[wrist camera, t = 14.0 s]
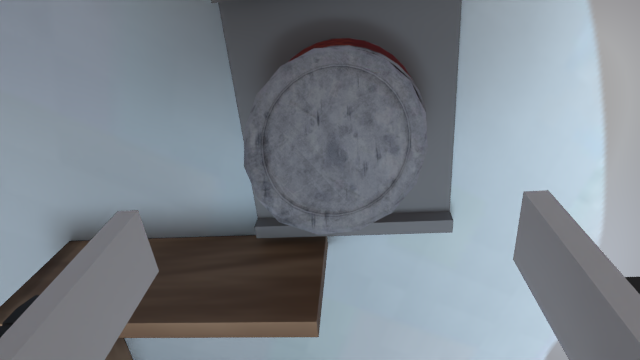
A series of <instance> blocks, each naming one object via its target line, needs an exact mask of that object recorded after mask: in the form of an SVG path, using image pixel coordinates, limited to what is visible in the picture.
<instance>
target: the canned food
mask: <svg viewBox="0 0 640 360" xmlns="http://www.w3.org/2000/svg"><path fill="white" fill-rule="evenodd" d="M427 151H428V141H427V117H426V110H425V105H424V102H423V100H422V97H421V94H420V92H419V90H418V88H417V86H416V85H415V83H414V81H413V78H412V77H411V75H410V74H409V72H408V71H407V69H406V68H405V66H404V65H403V64H402V63H401V62H400V61H399V60H398V59H397V58H396V57H395V56H394V55H393V54H392V53H390V52H389V51H387V50H385V49H384V48H382V47H381V46H379V45H376V44H374V43H371V42H369V41H366V40H361V39H355V38H349V37H347V38H331V39H327V40H323V41H319V42H316V43H314V44H312V45H310V46H308V47H306V48H304V49H302V50H301V51H300V52H298V53H297V54H296V55H294V56H293V57H292V58H290V60H289V61H288V62H287V63H286V64H284V65H282V66H280V67H279V68H278V70H277V71H276V72H275V73H274V75H273V76H272V77H271V78H270V80H269V81H268V82H267V83H266V84H265V85H264V87H263V88H262V89H261V90H260V91H259V92H258V93H257V94H256V97H255V100H254V103H253V106H252V109H251V112H250V115H249V118H248V120H247V123H246V126H245V128H244V167H245V170H246V172H247V174H248V176H249V179H250V181H251V183H252V186H253V189H254V191H255V194H256V197H257V199H258V200H259V201H260V202H261V204H262V205H263V206H264V207H265V208H266V209H267V210H268V211H269V212H270V213H271V214H272V215H273V216H274V217H275V218H276V219H277V220H278V222H280V223H283V224H286V225H289V226H292V227H295V228H299V229H302V230H305V231H308V232H311V233H314V234H317V235H321V234H332V233H343V232H353V231H359V230H361V229H363V228H365V227H366V226H368V225H370V224H372V223H374V222H375V221H377V220H379V219H381V218H383V217H385V216H387V215H389V214H391V213H393V211H394V210H395V209H396V208H397V206H398V205H399V204H400V203H401V201H402V200H403V199H404V198H405V196H406V195H407V194H408V193H409V192H410V191H411V190H412V188H413V187H414V186H415V185H416V184H417V180H418V177H419V174H420V171H421V167H422V165H423V162H424V159H425V156H426V154H427Z"/></svg>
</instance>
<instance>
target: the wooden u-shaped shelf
mask: <svg viewBox="0 0 640 360" xmlns="http://www.w3.org/2000/svg"><path fill="white" fill-rule="evenodd" d="M148 240H149V243H150V246H151V249H152V252H153V255H154V258H155V261H156V264H157V267H158V270H159V272H158V274H157V275H156V277H155V279H154V280H153V282H152V283H151V285H150V287H149V288H148V290H147V292H146V293H145V295H144V296H143V298H142V300H141V301H140V303H139V305H138V306H137V308H136V310H135V311H134V313H133V314H132V316H131V318H130V319H129V321H128V323H127V324H126V326H125V328H124V329H123V331H122V332H121V334H120V336H119V337H118V339H117V341H116V342H115V344H114V346H113V347H112V349H111V350H110V352H109V354H108V355H107V357H106V359H105V360H133V359H132V357H131V354H130V352H129V350H128V347H127V345H126V342H125V340H124V338H208V337H319V327H320V317H321V307H322V298H323V288H324V278H325V268H326V259H327V249H328V243H327V236H317V237H284V238H256V235H248V236H216V237H185V238H153V239H148ZM89 242H90V241H69V242H68V243H67V244H66V245H65V246H64V247H63V248H62V249H61V250H60V251H59V252H58V253H57V254H56V255H54V256H53V257H52V258H51V259H50V260H49V261H48V262H47V263H46V264H45V265H44V266H43V267H42V268H41V269H40V270H39V271H38V272H37V273H35V274H34V275H33V276H32V277H31V278H30V279H29V280H28V281H27V282H26V283H25V284H24V285H23V286H22V287H21V288H20V289H19V290H17V291H16V292H15V293H14V294H13V295H12V296H11V297H10V298H9V299H8V300H7V301H6V302H5V303H4V304H3V305H2V306H1V307H0V326H2V323H3V322H4V321H5V320H6V319H7V318H8V317H9V316H10V315H11V313H12V312H13V311H14V310H15V309H16V308H18V307H19V306H20V305H22V304H23V303H25V302H26V301H28V300H29V299H31V298H32V297H33V296H35V295H40V294H41V293H42V292H43V291H44V290H45V289H46V288H47V287H48V286H49V285H50V284H51V283H52V281H53V280H54V279H55V278H56V277H57V276H58V275H59V274H60V273H61V272H62V271H63V270H64V269H65V267H66V266H67V265H68V264H69V263H70V262H71V261H72V260H73V259H74V258H75V257H76V256H77V254H78V253H79V252H80V251H81V250H82V249H83V248H84V247H85V246H86V245H87V244H88V243H89Z"/></svg>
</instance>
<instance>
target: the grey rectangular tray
mask: <svg viewBox="0 0 640 360" xmlns="http://www.w3.org/2000/svg"><path fill="white" fill-rule="evenodd" d="M211 1H212V3H217V2H218V3H219V9H220V14H221V20H222V25H223V31H224V36H225V42H226V47H227V52H228V58H229V63H230V69H231V74H232V80H233V85H234V91H235V96H236V101H237V107H238V112H239V118H240V123H241V129H242V134H243V140H244V128H245V126H246V123H247V120H248V118H249V115H250V112H251V109H252V106H253V103H254V100H255V97H256V94H257V93H258V92H259V91H260V90H261V89H262V88H263V87H264V85H265V84H266V83H267V82H268V81H269V80H270V78H271V77H272V76H273V75H274V73H275V72H276V71H277V70H278V68H279V67H280V66H282V65H284V64H286V63H287V62H288V61H289V60H290V58H292V57H293V56H294V55H296V54H297V53H298V52H300V51H301V50H302V49H304V48H306V47H308V46H310V45H312V44H314V43H316V42H319V41H323V40H327V39H331V38H347V37H349V38H355V39H361V40H366V41H369V42H371V43H374V44H376V45H379V46H381V47H382V48H384V49H385V50H387V51H389V52H390V53H392V54H393V55H394V56H395V57H396V58H397V59H398V60H399V61H400V62H401V63H402V64H403V65H404V66H405V68H406V69H407V71H408V72H409V74H410V75H411V77H412V78H413V81H414V83H415V85H416V86H417V88H418V90H419V92H420V94H421V97H422V100H423V102H424V105H425V110H426V117H427V141H428V151H427V154H426V156H425V159H424V162H423V165H422V167H421V171H420V174H419V177H418V180H417V184H416V185H415V186H414V187H413V188H412V190H411V191H410V192H409V193H408V194H407V195H406V196H405V198H404V199H403V200H402V201H401V203H400V204H399V205H398V206H397V208H396V209H395V210H394V211H393V213H391V214H389V215H387V216H385V217H383V218H381V219H379V220H377V221H375V222H374V223H372V224H370V225H368V226H366V227H365V228H363V229H361V230H359V231H353V232H343V233H332V234H321V235H317V234H314V233H311V232H308V231H305V230H302V229H299V228H295V227H292V226H289V225H286V224H283V223H280V222H278V220H277V219H276V218H275V217H274V216H273V215H272V214H271V213H270V212H269V211H268V210H267V209H266V208H265V207H264V206H263V205H262V204H261V202H260V201H259V200H258V199H257V197H256V194H255V191H254V189H253V186H252V189H253V194H254V199H255V205H256V210H257V216H258V219H257V222H256V224H255V233H256V238H284V237H317V236H349V235H382V234H414V233H447V232H452V230H453V219H452V216H451V213H450V195H451V178H452V160H453V143H454V125H455V108H456V91H457V73H458V56H459V38H460V21H461V3H462V0H211Z"/></svg>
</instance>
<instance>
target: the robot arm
mask: <svg viewBox="0 0 640 360" xmlns="http://www.w3.org/2000/svg"><path fill="white" fill-rule="evenodd" d="M513 260H514V262H515V263H516V265H517V267H518V269H519V271H520V272H521V274H522V276H523V278H524V280H525V281H526V283H527V285H528V287H529V289H530V290H531V292H532V294H533V296H534V298H535V299H536V301H537V303H538V305H539V307H540V308H541V310H542V312H543V314H544V316H545V317H546V319H547V321H548V323H549V325H550V326H551V328H552V330H553V332H554V334H555V335H556V337H557V339H558V341H559V343H560V344H561V346H562V348H563V350H564V352H565V353H566V355H567V357H568V359H569V360H640V277H624V276H623V275H622V274H621V273H620V271H619V270H618V269H617V268H616V267H615V266H614V265H613V263H612V262H611V261H610V260H609V259H608V258H607V257H606V256H605V255H604V253H603V252H602V251H601V250H600V249H599V247H598V246H597V245H596V244H595V243H594V242H593V241H592V240H591V238H590V237H589V236H588V235H587V234H586V233H585V232H584V230H583V229H582V228H581V227H580V226H579V225H578V224H577V222H576V221H575V220H574V219H573V218H572V217H571V216H570V214H569V213H568V212H567V211H566V210H565V209H564V208H563V206H562V205H561V204H560V203H559V202H558V201H557V200H556V199H555V197H554V196H553V195H552V194H551V193H550V192H549V191H548V190H547V191H526V192H524V193H523V199H522V206H521V212H520V218H519V225H518V231H517V238H516V244H515V251H514V257H513ZM158 272H159V270H158V267H157V264H156V261H155V258H154V255H153V252H152V249H151V246H150V243H149V240H148V238H147V235H146V232H145V229H144V226H143V223H142V220H141V217H140V214H139V211H138V210H132V211H117V212H116V213H115V215H114V216H113V217H112V218H111V219H110V220H109V221H108V222H107V223H106V224H105V225H104V226H103V227H102V229H101V230H100V231H99V232H98V233H97V234H96V235H95V236H94V237H93V238H92V239H91V240H90V242H89V243H88V244H87V245H86V246H85V247H84V248H83V249H82V250H81V251H80V252H79V253H78V254H77V256H76V257H75V258H74V259H73V260H72V261H71V262H70V263H69V264H68V265H67V266H66V267H65V269H64V270H63V271H62V272H61V273H60V274H59V275H58V276H57V277H56V278H55V279H54V280H53V281H52V283H51V284H50V285H49V286H48V287H47V288H46V289H45V290H44V291H43V292H42V293H41V294H40V295H35V296H33V297H32V298H31V299H29V300H28V301H26V302H25V303H23V304H22V305H20V306H19V307H18V308H16V309H15V310H14V311H13V312H12V313H11V315H10V316H9V317H8V318H7V319H6V320H5V321H4V322H3V323H2V326H0V360H105V359H106V357H107V355H108V354H109V352H110V350H111V349H112V347H113V346H114V344H115V342H116V341H117V339H118V337H119V336H120V334H121V332H122V331H123V329H124V328H125V326H126V324H127V323H128V321H129V319H130V318H131V316H132V314H133V313H134V311H135V310H136V308H137V306H138V305H139V303H140V301H141V300H142V298H143V296H144V295H145V293H146V292H147V290H148V288H149V287H150V285H151V283H152V282H153V280H154V279H155V277H156V275H157V274H158Z"/></svg>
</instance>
